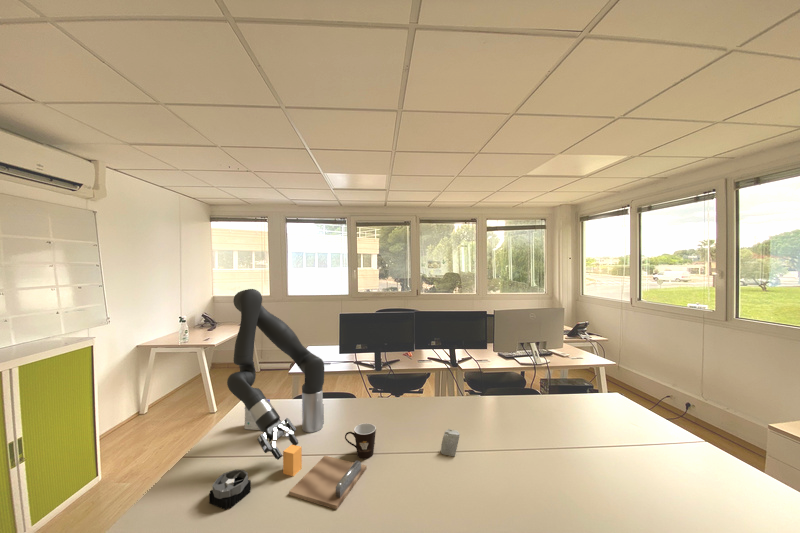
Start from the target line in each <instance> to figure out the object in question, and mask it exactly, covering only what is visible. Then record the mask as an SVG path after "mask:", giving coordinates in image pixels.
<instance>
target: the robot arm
mask: <svg viewBox="0 0 800 533" xmlns="http://www.w3.org/2000/svg"><path fill="white" fill-rule="evenodd" d="M232 302H233V305H234V307H235V309H237V310H238V311H239V312H240V317H241V318H240V325H239V328H238V332H237V335H236V338H235V344H234V352H233V363H234V365H236V366H238V367H239V371H235V372H233V373H231V374H230V375H229V376H228V378H227V380H226V385H227V388H228V391H230V392H231V394H233V395H234V397H236V399H238V400H240V401H241V402H242V403H243V404H244V407H245V406H246V408H247V409H248V411H249V412H250V414H251V417H252V418H253V420H254V421H255V423H256V424H257V426H258V428H259V429H260V430H259V431H260V432H261V434H260V435H259V436H258V437H257V438H256V439H257V442H258V444H259V445H260V447H261V449H262V451H263V452H264V454H267V453H268V452H270V453H271V454H272V455H273V457H274V458H275V459H276V460H280V459H281V458H283V453H282V452H281V451H280V449H279V448H278V446H277V440H278V439H280V438H281V437H282V438H284V437H285V438H287V439H288V440H289V442H290V444H291V445H296V446H298V444H299V440H298V439H297V437H296V436H295V432H296V431H297V428H296V426H295V425H294V424H293V423H292V422H291V420H290V418H288V417H286V418H285V419H284V420H283V421H281V419H280V418H281V417H280V415H279V413H278V411H276V409H275V407H274V406H273V405H272V403H271V401H270V402H269V401H268V400H267V399H268V398H267V397H266V396H265V394H264V393H263V391H262V390H261V389H260V388H258V387H253V385H254V383H255V381H256V376H257V375H256V374H257V373H256V368H255V362H254V353H255V341H256V340H255V338H256V330H257V328H258V329H259V330H260V331H261V332H262V334H264V335H265V336H266V337H267V338H268V340H269V341H270V342H272V344H274V346H276V347H277V348H278V349H279V350H280V351H281V352H283V353H284V354H286V355H287V356H288V357H289V358H291V359H292V361H293V362H294V363H295V364H296V365H297V367H298V369H299V370H301V372H302V373H303V374H304V383H303V384H302V385H301V409H302V410H301V412H302V413H301V419H302V421H301V424H302V426H301V428H302V431H303V432H304V433H316V432H318V431H320V430H321V429H322V428H323V427H324V423H325V415H324V414H325V410H324V409H325V408H324V405H325V404H324V403H323V402H324V400H323V399H324V397H323V395H324V394H323V386H324V384H325V362H324V360H323V359H322V358H320V356H317V355H315V354H314V353H312V352H311V351H310V350H308V348H306V347H305V346H304V345H303V344H302V343H301V341H300V339H299V337H298V336H297V334H296V333H295V332H294V330H293V329H292V328H291V326H289V325H288V324H287V323H286V322H285V321H284V320H282V319H281V318H279V317H277V316H276V315H274V314H273V313H271V312H269V311H268V309H266V308H265V306H263V296H262V294H261V292H260V291H259V290H257V289H255V288H247V289H243V290H241V291H238V292H237V293H235V295H234V297H233V300H232Z"/></svg>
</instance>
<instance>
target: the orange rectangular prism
mask: <svg viewBox="0 0 800 533" xmlns="http://www.w3.org/2000/svg"><path fill="white" fill-rule="evenodd" d="M302 452H303V451H302V446H300V445H292V444H290V445H289V446H288V447H286V448H285V449H284V450H283V451H282V461H283V462H282V470H283V471H282V473H283V475H287V476H290V477H295V476H296V475H297V474H298V473H299V472H300V471H301V470H302V468H303V465H302V464H303V460H302V459H303V456H302V455H303V453H302Z"/></svg>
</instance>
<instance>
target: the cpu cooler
mask: <svg viewBox="0 0 800 533" xmlns="http://www.w3.org/2000/svg"><path fill="white" fill-rule="evenodd" d="M248 475H249V472H248V471H246V470H244V469H232V470H230V471H227V472H223V473H222V474H221V475H220V476H219V477H217V478H216V480H215V481H213V483H212V485H211V486H212V489H211V490H209V494H208V496H209V497H208V498H209V502H208V503H209V504H211V505H213V506H215V507H217V508H220V509H222V510H223V509H224V510H225V511H227V509H232V508H233V507H234V506H235V505H237V504H238V503H240V502H241V501H242V500H243V499H244V498H245V497H247V496H248V495H249V494H250V493H251V490H252V489H251V487H252V485H251V484H252V483H251V479H249V476H248Z"/></svg>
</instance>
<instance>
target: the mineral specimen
mask: <svg viewBox="0 0 800 533" xmlns="http://www.w3.org/2000/svg"><path fill="white" fill-rule="evenodd" d="M460 435H461V434H460V432H459V431H458V430H457V429H451V428H448V429H446V430H445V431H444V433H443V436H442V441H441V446H440V453H441V454H442V455H444V456H445V455H446V456H448V457H449V456H450V457H455V456H456V453H457V450H458V445H459V441H460V440H459V439H460Z"/></svg>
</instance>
